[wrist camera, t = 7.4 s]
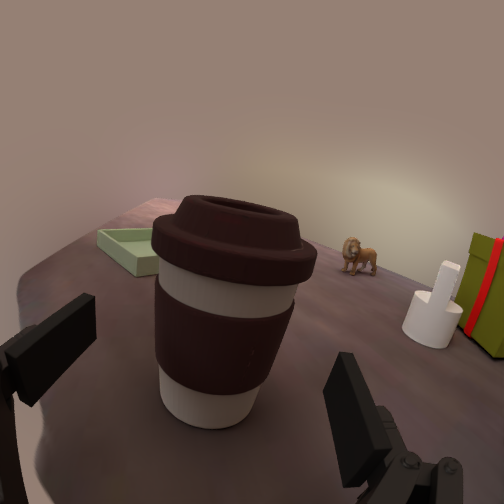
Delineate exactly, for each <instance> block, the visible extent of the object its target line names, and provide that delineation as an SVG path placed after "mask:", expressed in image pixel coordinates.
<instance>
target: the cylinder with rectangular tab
mask: <svg viewBox="0 0 504 504" xmlns="http://www.w3.org/2000/svg"><path fill="white" fill-rule="evenodd" d="M459 270H460V265H457V264H455V263H452V262H450V261H447V260H445V261H444V262H443V263H442V264H441V267H440V270H439V273H438V276H437V279H436V282H435V285H434V288H433V291H432V293H431V292H427V291H415V294H414V296H413V299H412V302H411V305H410V307H409V310H408V313H407V315H406V318H405V320H404V323H403V325H402V330H403V331H404V333H405V334H406V335H407V336H409V337H410V338H411V339H413V340H414V341H416V342H418V343H420V344H422V345H425V346H428V347H431V348H437V349H442V348H446V347H447V346H448V344H449V342H450V340H451V338H452V336H453V333H454V331H455V329H456V326H457V324H458V322H459V319H460V317H461V314H462V312H463V310H462V308H461V307H460V306H459V305H457V304H456V303H454V302H453V301H451V300H449V299H450V297H451V294H452V291H453V288H454V285H455V282H456V279H457V276H458V273H459Z"/></svg>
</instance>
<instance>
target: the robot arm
mask: <svg viewBox="0 0 504 504" xmlns="http://www.w3.org/2000/svg"><path fill="white" fill-rule="evenodd" d="M96 339H97V336H96V315H95V296H92V295H89V294H86V293H83V294H81V295H80V296H78V297H77V298H76V299H74V300H73V301H71V302H70V303H68V304H67V305H65V306H64V307H63V308H61V309H60V310H58V311H57V312H55V313H54V314H53V315H51V316H50V317H48V318H47V319H46V320H44V321H43V322H42V323H40V324H39V325H32V326H29V327H26V328H25V329H23V330H22V331H20V332H19V333H18V334H16V335H15V336H14V337H12V338H11V339H9V340H8V341H7V342H5V343H4V344H3V345H1V346H0V504H29V503H28V499H27V495H26V491H25V487H24V482H23V477H22V472H21V466H20V460H19V453H18V447H17V438H16V429H15V428H16V427H15V413H14V399H13V395H12V394H13V393H14V392H15V391H17V394H18V397H19V399H20V401H22V402H24V403H25V404H27V405H28V406H30V407H33V405H34V404H35V403H36V402H37V401H38V400H39V399H40V398H41V397H42V396H43V394H44V393H45V392H46V391H47V390H48V389H49V388H50V387H51V386H52V385H53V384H54V383H55V381H56V380H57V379H58V378H59V377H60V376H61V375H62V374H63V373H64V372H65V371H66V370H67V369H68V368H69V367H70V366H71V365H72V364H73V362H74V361H75V360H76V359H77V358H78V357H79V356H80V355H81V354H82V353H83V352H84V351H85V350H86V349H87V348H88V347H89V346H90V345H91V344H92V343H93V342H94V341H95V340H96ZM323 395H324V399H325V404H326V408H327V413H328V417H329V422H330V426H331V431H332V435H333V440H334V445H335V450H336V454H337V459H338V464H339V469H340V474H341V479H342V485H343V488H351V487H360V486H361V485H362V484H363V483H364V482H365V481H366V480H367V483H368V486H369V487H368V488H367V489H366V490H365V491H364V492H363V493H362V494H361V495H360V496H359V497H358V498H357V499H358V501H357V502H356V503H355V504H463V469H462V465H461V464H460V462H459V461H458V460H456V459H455V458H452V457H444V458H442V459H441V460H440V461H439V462H438V463H437V464H431V463H423V462H422V460H421V459H420V457H419V456H418V455H416V454H415V453H413V452H410V451H407V449H406V447H405V444H404V442H403V440H402V437H401V435H400V433H399V431H398V429H397V426H396V424H395V423H394V419H393V417H392V415H391V413H390V412H389V411H388V410H387V409H386V408H385V407H384V406H376V405H375V403H374V401H373V398H372V396H371V394H370V391H369V389H368V387H367V384H366V382H365V380H364V377H363V375H362V373H361V371H360V368H359V366H358V364H357V362H356V359H355V357H354V355H353V353H347V352H339V354H338V356H337V359H336V361H335V364H334V366H333V368H332V371H331V373H330V376H329V378H328V380H327V383H326V385H325V387H324V389H323Z"/></svg>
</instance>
